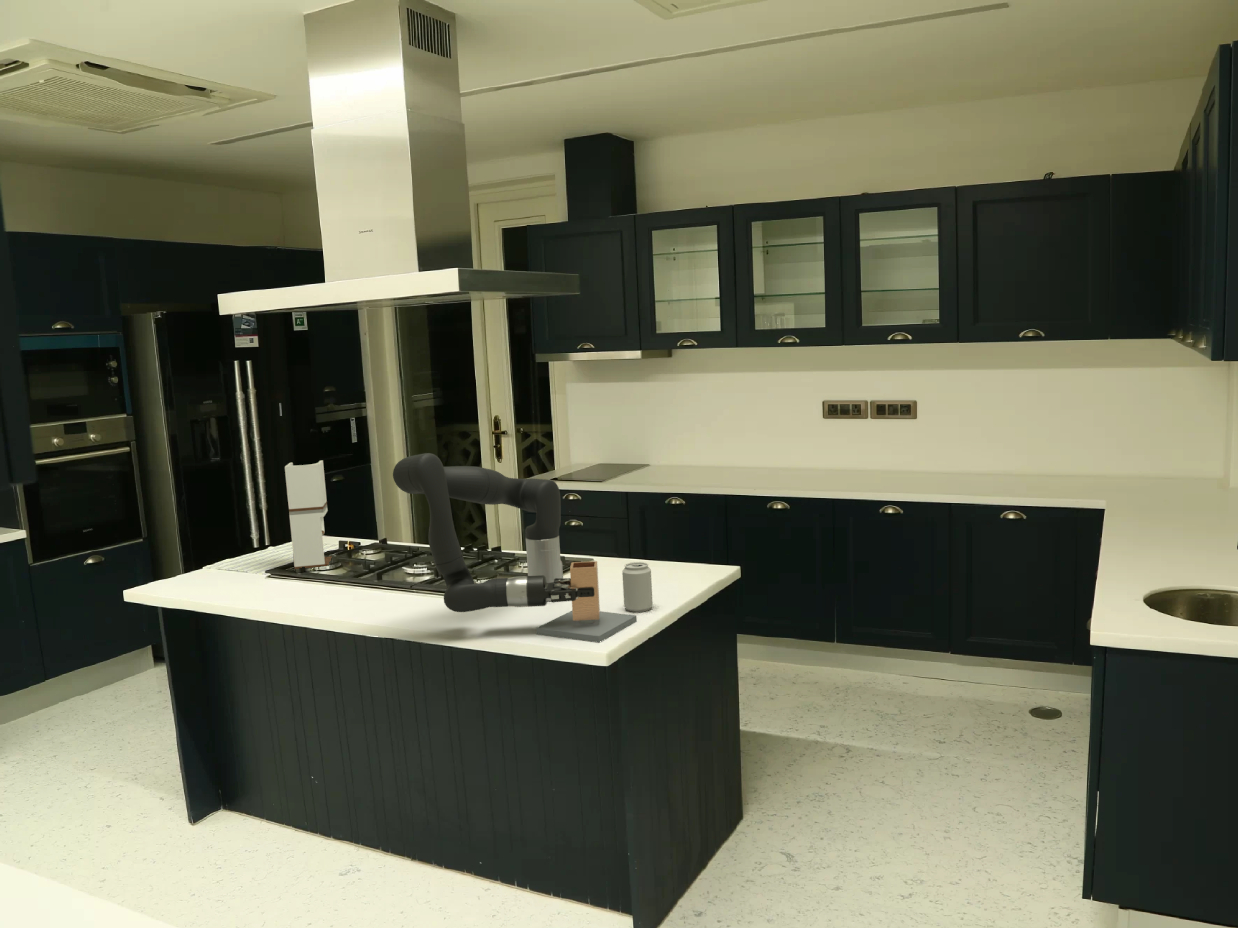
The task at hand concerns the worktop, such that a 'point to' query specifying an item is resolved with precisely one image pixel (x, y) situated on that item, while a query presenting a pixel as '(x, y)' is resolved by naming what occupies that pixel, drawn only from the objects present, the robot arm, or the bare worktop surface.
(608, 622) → the duct base
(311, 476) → the brown-banded white column
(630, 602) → the can
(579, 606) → the tan box
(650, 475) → the worktop surface
